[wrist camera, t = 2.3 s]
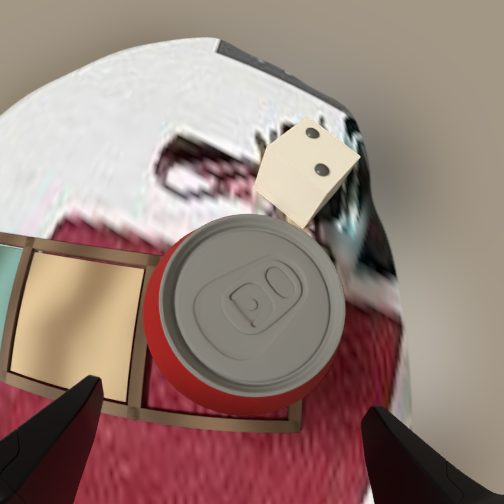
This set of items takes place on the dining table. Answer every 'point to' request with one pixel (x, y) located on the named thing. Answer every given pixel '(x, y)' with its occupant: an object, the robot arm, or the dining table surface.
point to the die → (304, 170)
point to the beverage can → (244, 314)
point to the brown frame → (88, 329)
